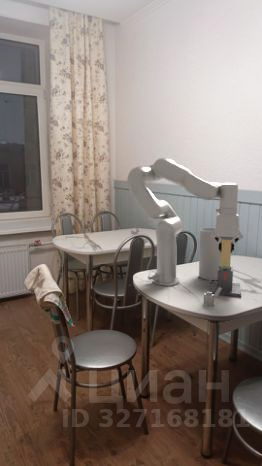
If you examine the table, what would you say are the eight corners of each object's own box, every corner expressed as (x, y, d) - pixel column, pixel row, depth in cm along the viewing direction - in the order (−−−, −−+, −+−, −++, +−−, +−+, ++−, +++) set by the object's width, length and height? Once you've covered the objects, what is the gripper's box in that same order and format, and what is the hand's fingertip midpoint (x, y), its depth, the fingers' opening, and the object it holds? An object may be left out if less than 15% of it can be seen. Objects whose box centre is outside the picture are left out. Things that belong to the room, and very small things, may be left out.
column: (219, 274, 152) (221, 237, 148) (219, 271, 156) (221, 235, 153) (230, 275, 150) (232, 238, 147) (230, 272, 155) (232, 236, 152)
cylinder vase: (226, 280, 168) (228, 231, 163) (201, 280, 168) (203, 231, 163) (219, 273, 180) (221, 227, 176) (196, 273, 180) (198, 227, 176)
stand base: (208, 294, 150) (208, 270, 148) (209, 284, 163) (210, 261, 161) (240, 297, 146) (242, 272, 144) (239, 286, 159) (240, 263, 157)
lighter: (203, 304, 139) (203, 285, 138) (204, 302, 141) (205, 284, 139) (220, 307, 136) (221, 288, 134) (221, 305, 137) (222, 287, 136)
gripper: (208, 212, 147) (206, 252, 150) (248, 213, 142) (246, 254, 146) (208, 210, 154) (207, 248, 157) (247, 210, 149) (245, 250, 153)
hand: (226, 251), depth 151 cm, fingers closed on column, 4 cm apart
